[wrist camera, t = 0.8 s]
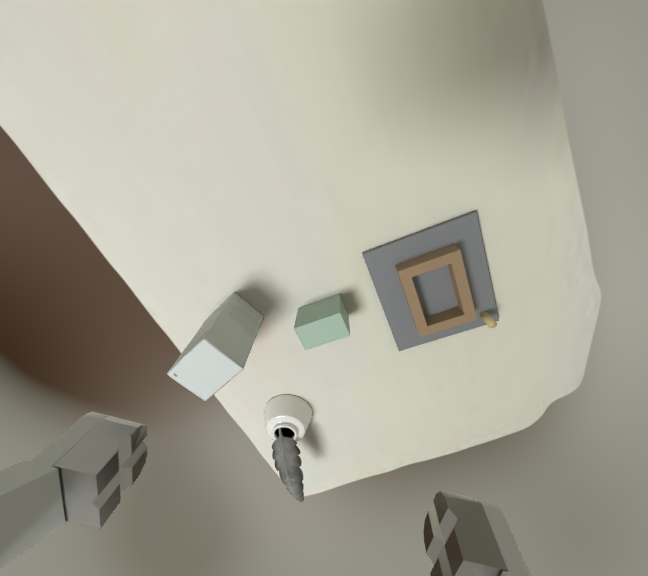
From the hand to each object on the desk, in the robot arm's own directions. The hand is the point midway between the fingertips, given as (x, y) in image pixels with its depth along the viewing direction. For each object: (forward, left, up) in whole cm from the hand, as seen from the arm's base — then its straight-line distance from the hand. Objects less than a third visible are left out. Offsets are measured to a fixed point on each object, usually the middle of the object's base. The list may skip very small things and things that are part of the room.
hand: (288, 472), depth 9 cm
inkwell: (+37, -21, -38) cm, 57 cm away
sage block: (+15, -6, -38) cm, 41 cm away
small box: (+11, -20, -38) cm, 44 cm away
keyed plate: (+17, +11, -37) cm, 42 cm away
